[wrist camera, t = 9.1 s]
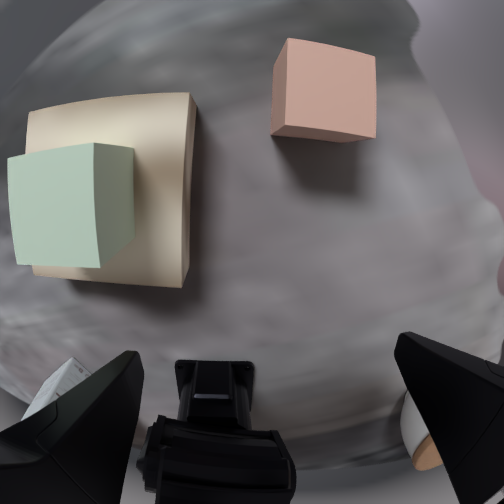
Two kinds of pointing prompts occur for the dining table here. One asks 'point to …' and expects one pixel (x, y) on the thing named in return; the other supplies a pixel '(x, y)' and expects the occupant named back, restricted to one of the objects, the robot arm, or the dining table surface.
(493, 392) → the robot arm
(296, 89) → the clay cube
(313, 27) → the dining table surface
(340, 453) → the dining table surface
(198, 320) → the dining table surface
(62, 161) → the sage cube
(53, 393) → the supplement box
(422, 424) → the lidded bowl
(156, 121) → the birch block
